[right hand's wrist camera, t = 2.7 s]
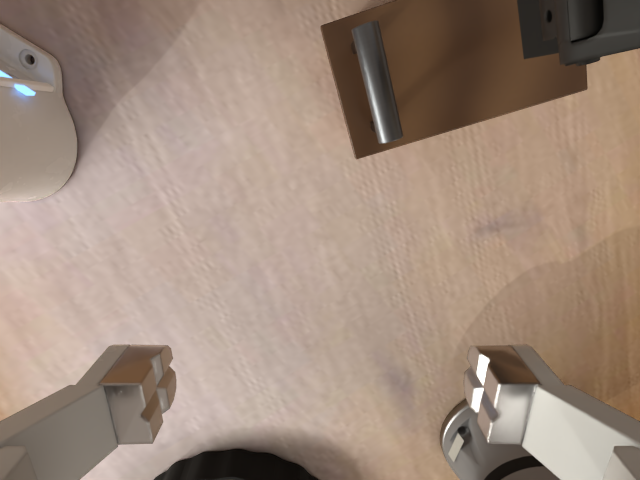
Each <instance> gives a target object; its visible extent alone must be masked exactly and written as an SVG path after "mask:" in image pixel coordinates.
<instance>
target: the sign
mask: <svg viewBox="0 0 640 480" xmlns="http://www.w3.org/2000/svg"><path fill="white" fill-rule="evenodd" d="M154 480H318V479H316V478H314V477H312V476H311V475H309V474H308V472H307V471H306V470H305V469H304V468H302V467H301V466H299V465H297V464H294V463H290V462H287V461H284V460H282V459H280V458H279V457H277V456H275V455H272V454H266V453H252V452H248V451H245V450H229V451H224V452H204V453H201V454H199V455H197V456H195V457H193V458H191V459H188V460H182V461H179V462H176V463H174V464H173V465H172V466H171V467H170V468H169V469H168V470H167V471H166V472H165V473H163V474H161V475H159V476H158V477H156V478H155V479H154Z"/></svg>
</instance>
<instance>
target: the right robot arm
mask: <svg viewBox="0 0 640 480" xmlns="http://www.w3.org/2000/svg"><path fill="white" fill-rule="evenodd" d="M31 56H33V57H34V59H35V62H34V64H32V62H31V60H30V58H31ZM76 158H77V136H76V131H75V126H74V123H73V120H72V117H71V115H70V112H69V110H68V108H67V105H66V103H65V100H64V97H63V85H62V72H61V68H60V65H59V63H58V61H57V60H56V59H55V58H54V57H53V56H52V55H50V54H49V53H47V52H46V51H44V50H42V49H41V48H39V47H38V46H36V45H34V44H33V43H31V42H29V41H28V40H26V39H24V38H23V37H21V36H20V35H18V34H16V33H15V32H13V31H11V30H10V29H8V28H7V27H5V26H3V25H2V24H0V202H30V201H36V200H40V199H43V198H46V197H48V196H50V195H52V194H54V193H55V192H57V191H58V190H59V189H60V188H61V187H62V186H63V185H64V184H65V183H66V182H67V180H68V179H69V177H70V176H71V174H72V171H73V169H74V166H75V163H76ZM172 359H173V356H172V351H171V348H170V347H169V346H168V345H111V346H109V347H108V348H107V349H106V350H105V351H104V353H103V354H102V355H101V356H100V357H99V358H98V360H97V361H96V362H95V363H94V364H93V365H92V367H91V368H90V369H89V370H88V371H87V372H86V374H85V375H84V376H83V377H82V378H81V379H80V381H79V382H78V383H77V384H76V385H69V386H67V387H65V388H63V389H61V390H59V391H57V392H55V393H54V394H52V395H50V396H48V397H46V398H44V399H42V400H40V401H38V402H36V403H34V404H33V405H31V406H29V407H27V408H25V409H23V410H21V411H19V412H17V413H15V414H13V415H12V416H10V417H8V418H6V419H4V420H2V421H0V480H80V479H81V478H82V477H83V476H84V475H86V474H87V473H88V472H89V471H90V470H91V469H92V468H94V467H95V466H96V465H97V464H98V463H99V462H101V461H102V460H103V459H104V458H105V457H106V456H108V455H109V454H110V453H111V452H112V451H113V450H114V449H116V448H117V447H118V445H120V444H153V442H154V440H155V438H156V436H157V434H158V432H159V429H160V427H161V425H162V423H163V418H162V414H163V413H164V412H166V411H167V410H168V409H170V407H171V405H172V402H173V400H174V396H175V392H176V374H175V371H174V370H173V369H172V368H171V367H170V366H169V365H170V363H171V361H172ZM467 359H468V361H469V363H470V365H471V366H470V367H469V368H468V369H467V370H466V371H465V375H464V393H465V396H466V400H467V402H468V405H469V407H470V409H472V410H473V411H474V412H476V413H477V414H478V418H477V423H478V425H479V427H480V429H481V431H482V433H483V436H484V438H485V440H486V442H487V444H519V445H522V447H523V448H525V449H526V450H527V451H528V452H529V453H530V454H531V455H533V456H534V457H535V458H536V459H537V460H538V461H540V462H541V463H542V464H543V465H544V466H545V467H547V468H548V469H549V470H550V471H551V472H552V473H553V474H555V475H556V476H557V477H558V478H559V479H560V480H640V421H638V420H636V419H634V418H632V417H630V416H628V415H626V414H625V413H623V412H621V411H619V410H617V409H615V408H613V407H611V406H609V405H607V404H605V403H604V402H602V401H600V400H598V399H596V398H594V397H592V396H590V395H588V394H586V393H584V392H583V391H581V390H579V389H577V388H575V387H573V386H571V385H564V384H563V383H562V382H561V381H560V379H559V378H558V377H557V376H556V375H555V374H554V372H553V371H552V370H551V369H550V368H549V367H548V365H547V364H546V363H545V362H544V361H543V360H542V358H541V357H540V356H539V355H538V354H537V353H536V351H535V350H534V349H533V348H532V347H531V346H529V345H527V344H523V345H506V346H471V347H470V349H469V351H468V356H467Z"/></svg>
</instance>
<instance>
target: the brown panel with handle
mask: <svg viewBox="0 0 640 480" xmlns="http://www.w3.org/2000/svg"><path fill="white" fill-rule="evenodd" d="M321 32H322V36H323V40H324V43H325V47H326V51H327V55H328V59H329V62H330V66H331V70H332V74H333V77H334V81H335V85H336V89H337V92H338V96H339V100H340V104H341V107H342V111H343V115H344V119H345V123H346V126H347V130H348V134H349V138H350V141H351V145H352V149H353V153H354V156H355V158H356V159H359V158H363V157H366V156H369V155H373V154H376V153H379V152H382V151H386V150H389V149H392V148H396V147H399V146H402V145H406V144H409V143H412V142H415V141H419V140H422V139H425V138H429V137H432V136H435V135H439V134H442V133H445V132H449V131H452V130H455V129H458V128H462V127H465V126H468V125H472V124H475V123H478V122H482V121H485V120H488V119H492V118H495V117H498V116H501V115H505V114H508V113H511V112H515V111H518V110H521V109H525V108H528V107H531V106H535V105H538V104H541V103H544V102H548V101H551V100H554V99H558V98H561V97H564V96H568V95H571V94H574V93H578V92H581V91H584V90H587V71H586V65H582V66H576V64H573V65H569V66H565V65H560V60H559V53H556V54H551V55H545V56H540V57H534V58H529V59H524V57H523V48H522V40H521V31H520V22H519V14H518V5H517V0H395V1H392V2H389V3H386V4H383V5H380V6H377V7H375V8H372V9H369V10H366V11H363V12H360V13H357V14H354V15H351V16H348V17H345V18H342V19H339V20H336V21H333V22H330V23H327V24H324V25H322V26H321Z"/></svg>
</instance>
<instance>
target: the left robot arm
mask: <svg viewBox="0 0 640 480" xmlns="http://www.w3.org/2000/svg"><path fill="white" fill-rule="evenodd" d="M517 5H518V14H519V22H520V31H521V40H522V48H523V57H524V59H529V58H534V57H540V56H545V55H551V54H556V53H559V60H560V65H565V66H569V65H573V64H576V66H582V65H586V64H590V63H593V62H596V61H599V60H600V57H602V56H606V55H611V54H615V53H620V52H625V51H629V50H634V49H638V48H640V0H517ZM477 418H478V414H477V413H476V412H474V411H473V410H472V409H470V407H469V405H468V402H467V400H466V399H465V400H464V401H462V402H461V403H460V404H458V405H457V406H456V407H455V408H454V409H453V410H452V411H451V412H450V413H449V415H448V416H447V417H446V419H445V421H444V423H443V425H442V428H441V432H440V443H441V447H442V450H443V453H444V456H445V458H446V460H447V462H448V464H449V466H450V467H451V469H452V470H453V471H454V473H455V474H456V475H457V476H458V478H459V479H460V480H560V479H559V478H558V477H557V476H556V475H555V474H553V473H552V472H551V471H550V470H549V469H548V468H547V467H545V466H544V465H543V464H542V463H541V462H540V461H538V460H537V459H536V458H535V457H534V456H533V455H531V454H530V453H529V452H528V451H527V450H526V449H525V448H523V447H522V445H519V444H487V442H486V440H485V438H484V436H483V433H482V431H481V429H480V427H479V425H478V423H477Z"/></svg>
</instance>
